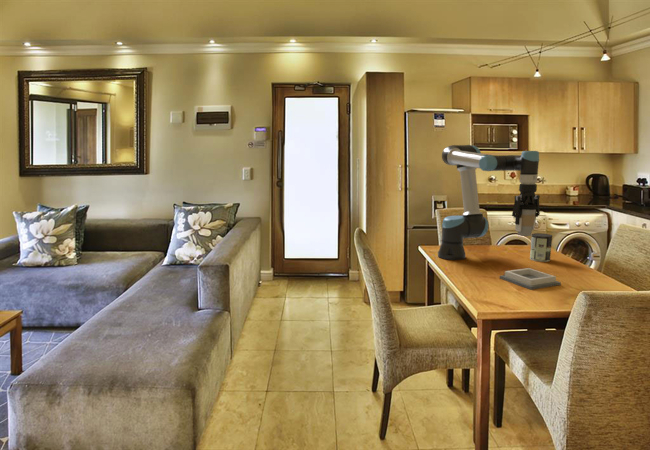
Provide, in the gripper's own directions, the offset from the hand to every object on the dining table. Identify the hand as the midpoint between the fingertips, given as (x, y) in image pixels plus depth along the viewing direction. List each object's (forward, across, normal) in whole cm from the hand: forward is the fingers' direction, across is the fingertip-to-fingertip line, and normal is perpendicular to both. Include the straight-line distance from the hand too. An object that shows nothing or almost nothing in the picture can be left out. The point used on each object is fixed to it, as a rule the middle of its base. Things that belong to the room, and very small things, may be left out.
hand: (524, 230), depth 198 cm
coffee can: (+22, +31, +16) cm, 41 cm away
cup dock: (+22, -7, -11) cm, 25 cm away
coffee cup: (+2, 0, 0) cm, 2 cm away
